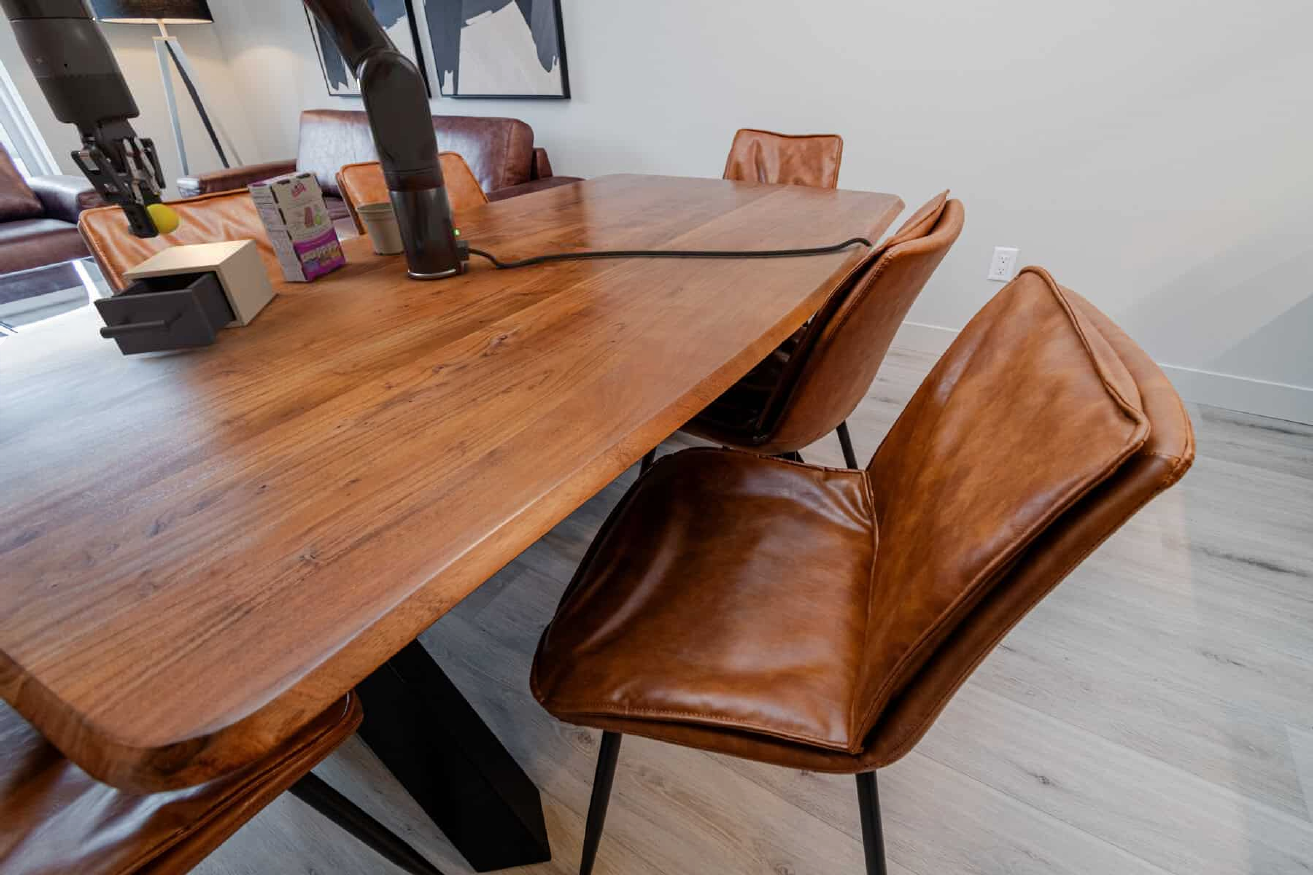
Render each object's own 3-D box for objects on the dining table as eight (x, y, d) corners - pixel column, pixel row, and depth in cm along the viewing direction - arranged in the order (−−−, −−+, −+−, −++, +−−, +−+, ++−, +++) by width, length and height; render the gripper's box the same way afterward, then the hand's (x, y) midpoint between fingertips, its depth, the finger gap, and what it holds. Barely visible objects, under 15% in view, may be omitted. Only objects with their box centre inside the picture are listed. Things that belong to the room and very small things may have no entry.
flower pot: (406, 242, 126) (395, 199, 122) (425, 249, 120) (414, 204, 116) (361, 252, 121) (347, 207, 116) (379, 260, 115) (365, 213, 110)
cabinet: (245, 325, 88) (218, 264, 83) (154, 336, 86) (121, 274, 81) (275, 294, 100) (253, 238, 95) (196, 303, 98) (169, 247, 93)
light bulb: (184, 232, 74) (158, 207, 71) (139, 251, 74) (111, 227, 71) (188, 219, 76) (163, 194, 73) (144, 237, 76) (118, 213, 73)
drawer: (199, 359, 76) (172, 304, 72) (103, 371, 74) (69, 315, 70) (249, 310, 91) (228, 262, 87) (169, 319, 89) (145, 271, 85)
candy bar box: (324, 264, 115) (292, 171, 106) (347, 264, 114) (317, 171, 105) (283, 282, 106) (244, 183, 97) (307, 283, 105) (270, 183, 96)
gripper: (81, 70, 60) (166, 244, 69) (146, 69, 72) (211, 218, 81) (-6, 74, 59) (92, 251, 68) (74, 73, 70) (149, 224, 80)
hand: (156, 232), depth 74 cm, fingers closed on light bulb, 3 cm apart
